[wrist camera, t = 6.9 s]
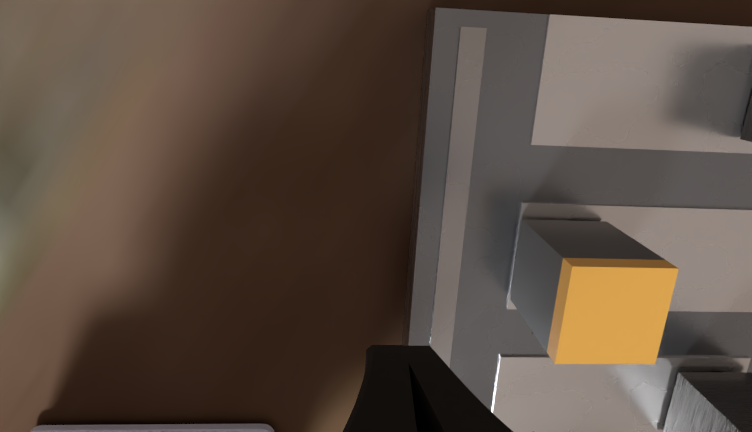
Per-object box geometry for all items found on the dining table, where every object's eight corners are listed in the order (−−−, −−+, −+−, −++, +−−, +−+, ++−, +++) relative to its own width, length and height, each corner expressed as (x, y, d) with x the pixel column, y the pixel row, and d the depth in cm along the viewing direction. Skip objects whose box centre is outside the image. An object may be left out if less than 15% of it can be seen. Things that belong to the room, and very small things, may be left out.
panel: (396, 418, 22) (416, 542, 17) (427, 10, 17) (471, -5, 12) (773, 416, 24) (905, 528, 18) (900, 39, 19) (1134, 37, 13)
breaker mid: (510, 299, 19) (554, 363, 15) (521, 219, 18) (572, 266, 14) (591, 300, 19) (655, 364, 15) (606, 221, 18) (678, 268, 14)
